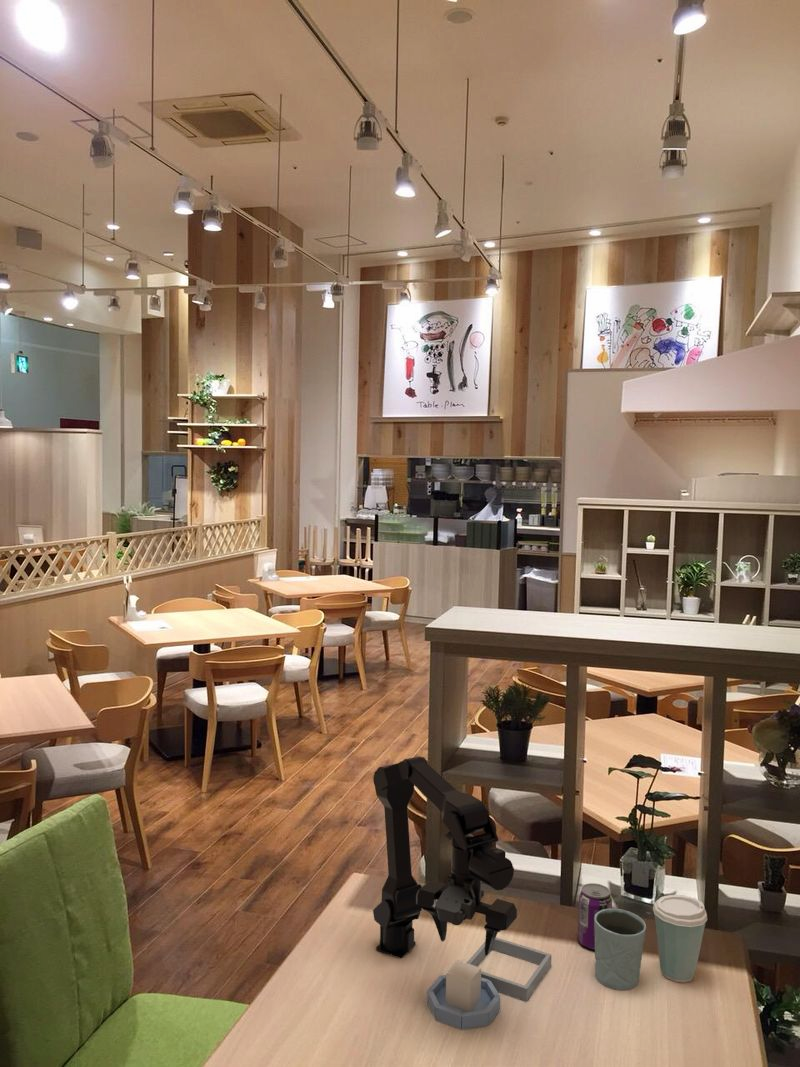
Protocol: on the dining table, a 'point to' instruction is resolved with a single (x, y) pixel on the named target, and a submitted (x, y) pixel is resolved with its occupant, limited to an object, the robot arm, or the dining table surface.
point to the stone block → (463, 985)
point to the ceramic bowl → (458, 1017)
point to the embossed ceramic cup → (618, 948)
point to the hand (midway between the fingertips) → (464, 947)
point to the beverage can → (591, 911)
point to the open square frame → (519, 952)
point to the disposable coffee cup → (679, 935)
